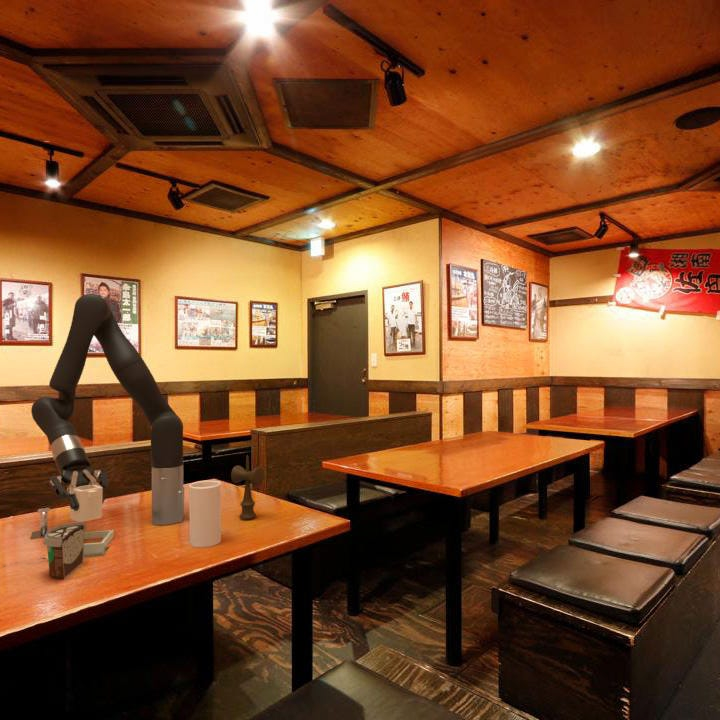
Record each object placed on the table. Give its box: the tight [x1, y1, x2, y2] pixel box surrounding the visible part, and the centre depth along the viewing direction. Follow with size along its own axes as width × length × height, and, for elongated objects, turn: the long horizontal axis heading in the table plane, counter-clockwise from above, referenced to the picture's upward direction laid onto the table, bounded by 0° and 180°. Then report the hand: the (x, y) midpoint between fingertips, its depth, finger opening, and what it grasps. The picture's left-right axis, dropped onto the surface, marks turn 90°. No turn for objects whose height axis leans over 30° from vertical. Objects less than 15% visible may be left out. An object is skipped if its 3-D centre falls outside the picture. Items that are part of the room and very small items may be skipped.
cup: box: [189, 480, 222, 548], centre depth 138 cm, size 8×8×16 cm
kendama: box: [230, 454, 265, 521], centre depth 159 cm, size 6×10×20 cm, turn 65°
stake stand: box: [29, 507, 51, 541], centre depth 142 cm, size 8×7×8 cm
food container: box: [43, 521, 87, 580], centre depth 119 cm, size 12×6×10 cm, turn 5°
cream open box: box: [69, 485, 103, 522], centre depth 132 cm, size 6×7×8 cm
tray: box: [83, 529, 115, 558], centre depth 133 cm, size 10×10×3 cm
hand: (89, 506), depth 132 cm, fingers closed on cream open box, 5 cm apart
